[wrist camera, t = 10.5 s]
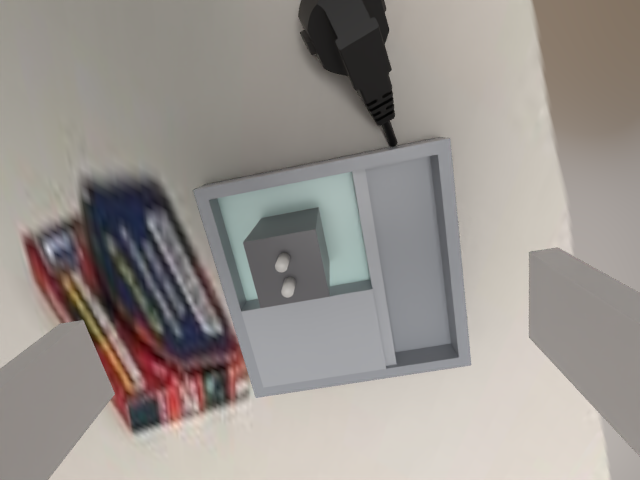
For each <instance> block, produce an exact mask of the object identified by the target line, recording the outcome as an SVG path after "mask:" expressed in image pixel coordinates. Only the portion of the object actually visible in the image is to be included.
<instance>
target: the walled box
mask: <svg viewBox="0 0 640 480" xmlns="http://www.w3.org/2000/svg"><path fill="white" fill-rule="evenodd" d="M193 192H194V195H195V199H196V202H197V205H198V209H199V212H200V215H201V219H202V222H203V225H204V229H205V232H206V235H207V238H208V242H209V245H210V248H211V252H212V255H213V258H214V262H215V265H216V268H217V271H218V275H219V278H220V281H221V285H222V288H223V291H224V295H225V298H226V301H227V305H228V308H229V311H230V314H231V318H232V321H233V324H234V328H235V331H236V334H237V338H238V341H239V344H240V347H241V351H242V354H243V357H244V361H245V364H246V367H247V371H248V374H249V377H250V380H251V384H252V387H253V390H254V394H255V397H256V398H258V397H265V396H271V395H278V394H285V393H291V392H298V391H304V390H311V389H318V388H324V387H331V386H338V385H344V384H351V383H357V382H364V381H371V380H377V379H384V378H390V377H397V376H404V375H410V374H417V373H423V372H430V371H437V370H443V369H450V368H457V367H463V366H470V365H471V357H470V346H469V336H468V325H467V314H466V303H465V292H464V282H463V271H462V260H461V249H460V238H459V228H458V217H457V206H456V195H455V185H454V174H453V163H452V152H451V141H450V138H443V137H438V138H433V139H428V140H423V141H418V142H413V143H408V144H403V145H398V146H394V147H388V148H384V149H379V150H374V151H369V152H364V153H359V154H354V155H349V156H344V157H339V158H334V159H329V160H324V161H319V162H314V163H309V164H304V165H299V166H295V167H290V168H285V169H280V170H275V171H270V172H265V173H260V174H255V175H250V176H245V177H240V178H235V179H230V180H225V181H220V182H215V183H211V184H206V185H203V186H201V187H198V188H196V189H194V190H193ZM317 207H319V212H320V217H321V222H322V227H323V232H324V237H325V242H326V246H327V251H328V256H329V261H330V297H325V298H319V299H313V300H307V301H301V302H295V303H289V304H283V305H278V306H272V307H266V308H260V304H259V300H258V297H257V293H256V289H255V286H254V282H253V278H252V275H251V271H250V267H249V263H248V260H247V256H246V252H245V249H244V245H243V242H244V240H245V239H246V238H247V236H248V235H249V234H250V232H251V231H252V230H253V228H254V227H255V226H256V224H257V223H258V222H259V220H260V219H261V218H264V217H269V216H275V215H280V214H285V213H290V212H296V211H301V210H306V209H312V208H317Z"/></svg>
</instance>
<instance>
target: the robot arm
mask: <svg viewBox="0 0 640 480" xmlns="http://www.w3.org/2000/svg"><path fill="white" fill-rule="evenodd" d="M529 338H530V339H531V340H532V341H533V342H534V343H535V344H536V345H537V347H538V348H539V349H540V350H541V351H542V352H543V353H544V354H545V355H546V356H547V357H548V358H549V359H550V361H551V362H552V363H553V364H554V365H555V366H556V367H557V368H558V369H559V370H560V371H561V372H562V373H563V375H564V376H565V377H566V378H567V379H568V380H569V381H570V382H571V383H572V384H573V385H574V386H575V387H576V389H577V390H578V391H579V392H580V393H581V394H582V395H583V396H584V397H585V398H586V399H587V400H588V401H589V403H590V404H591V405H592V406H593V407H594V408H595V409H596V410H597V411H598V412H599V413H600V414H601V415H602V417H603V418H604V419H605V420H606V421H607V422H608V423H609V424H610V425H611V426H612V427H613V428H614V429H615V431H616V432H617V433H618V434H619V435H620V436H621V437H622V438H623V439H624V440H625V441H626V442H627V443H628V444H629V446H630V447H632V449H633V450H634V451H635V452H636V453H637V454H638V455H639V456H640V293H639V292H638V291H636V290H634V289H632V288H630V287H629V286H627V285H625V284H623V283H621V282H619V281H618V280H616V279H614V278H612V277H610V276H609V275H607V274H605V273H603V272H601V271H599V270H598V269H596V268H594V267H592V266H590V265H589V264H587V263H585V262H583V261H581V260H580V259H578V258H576V257H574V256H572V255H571V254H569V253H567V252H565V251H563V250H561V249H560V248H551V249H544V250H538V251H531V252H529ZM114 394H115V393H114V391H113V388H112V386H111V384H110V381H109V379H108V377H107V374H106V372H105V370H104V368H103V365H102V363H101V361H100V358H99V356H98V354H97V351H96V349H95V347H94V344H93V342H92V340H91V337H90V335H89V333H88V330H87V328H86V326H85V323H84V321H83V320H82V321H75V322H69V323H62V324H59V325H57V326H56V327H55V328H53V329H52V330H51V331H50V332H48V333H47V334H46V335H44V336H43V337H42V338H40V339H39V340H38V341H36V342H35V343H34V344H32V345H31V346H30V347H28V348H27V349H26V350H24V351H23V352H22V353H21V354H19V355H18V356H17V357H15V358H14V359H13V360H11V361H10V362H9V363H7V364H6V365H5V366H3V367H2V368H1V369H0V480H48V479H49V478H50V477H51V475H52V474H53V473H54V471H55V470H56V469H57V468H58V466H59V465H60V464H61V462H62V461H63V460H64V459H65V457H66V456H67V455H68V453H69V452H70V451H71V450H72V448H73V447H74V446H75V444H76V443H77V442H78V441H79V439H80V438H81V437H82V435H83V434H84V433H85V432H86V430H87V429H88V428H89V426H90V425H91V424H92V423H93V421H94V420H95V419H96V417H97V416H98V415H99V414H100V412H101V411H102V410H103V408H104V407H105V406H106V405H107V403H108V402H109V401H110V399H111V398H112V397H113V396H114Z"/></svg>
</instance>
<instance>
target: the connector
mask: <svg viewBox="0 0 640 480" xmlns="http://www.w3.org/2000/svg"><path fill="white" fill-rule="evenodd" d="M243 245H244V249H245V252H246V256H247V260H248V263H249V267H250V271H251V275H252V278H253V282H254V286H255V289H256V293H257V297H258V300H259V304H260V308H266V307H272V306H278V305H283V304H289V303H295V302H301V301H307V300H313V299H319V298H325V297H330V261H329V256H328V251H327V246H326V242H325V237H324V232H323V227H322V222H321V217H320V212H319V207H317V208H312V209H306V210H301V211H296V212H290V213H285V214H280V215H275V216H269V217H264V218H261V219H260V220H259V222H258V223H257V224H256V226H255V227H254V228H253V230H252V231H251V232H250V234H249V235H248V236H247V238H246V239H245V240H244V242H243Z"/></svg>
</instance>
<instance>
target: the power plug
mask: <svg viewBox="0 0 640 480" xmlns="http://www.w3.org/2000/svg"><path fill="white" fill-rule="evenodd" d="M385 11H386V6H385V2H384V0H301V3H300V8H299V15H298V17H299V19H300V21H301V24H302V26H303V28H304V30H303V31H302V32H300V34H301V36H302V38H303V40H304V42H305V44H306V46H307V48H308V49H309V51H310V53H311V54H312V55H314V54H316V56H317V57H318V59H319V61H320V62H321V64H322V65H323V67H324V68H325V69H326V70H328V71H331V72H333V73H337V74H341V75H346V76H349V77H350V80H351V82H352V85H353V87H354V89H355V90H356V91H357V93H358V94H359V96H360V97H361V99H362V101H363V102H364V104H365V106H366V107H367V109H368V111H369V112H370V114H371V116H372V117H373V119H374V121H375V122H376V123H377V125H378V126H381V125H382V126H383V129H384V132H385V134H386V137H387V140H388V143H389V145H390V146H391V147H394V146H396V145H397V140H396V137H395V134H394V131H393V128H392V125H391V122H390V120H392V119H393V118H394V117H395V112H394V104H393V97H392V96H393V92H392V85H391V81H390V78H389V72H390V71H391V66H390V62H389V59H388V56H387V52H386V49H385V45H384V44H385V42H386V39H387V36H388V32H389V27H388V23H387V20H386V16H385Z"/></svg>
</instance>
